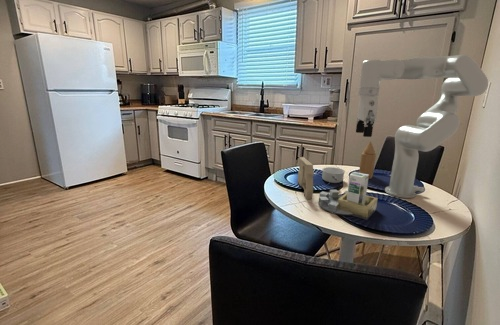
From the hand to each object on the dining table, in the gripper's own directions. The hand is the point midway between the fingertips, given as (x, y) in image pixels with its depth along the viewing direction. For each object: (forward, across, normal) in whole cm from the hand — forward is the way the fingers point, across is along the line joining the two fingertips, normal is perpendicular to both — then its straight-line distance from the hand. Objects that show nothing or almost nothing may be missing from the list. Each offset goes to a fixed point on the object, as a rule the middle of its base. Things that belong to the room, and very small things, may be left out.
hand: (363, 134), depth 112 cm
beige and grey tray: (+28, -12, +8) cm, 31 cm away
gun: (+28, +6, +22) cm, 37 cm away
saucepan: (+28, +17, +6) cm, 34 cm away
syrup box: (+27, -16, +5) cm, 32 cm away
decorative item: (+28, +29, -14) cm, 43 cm away
